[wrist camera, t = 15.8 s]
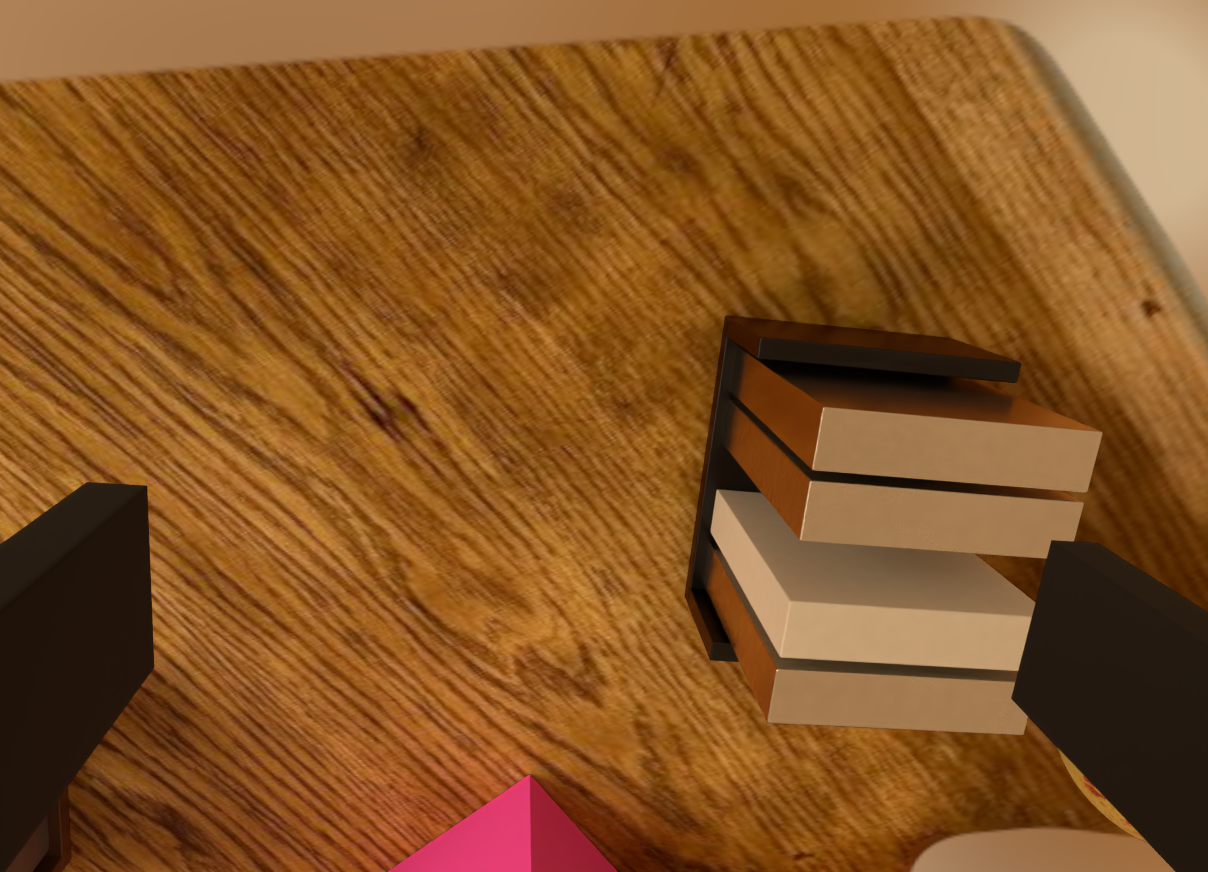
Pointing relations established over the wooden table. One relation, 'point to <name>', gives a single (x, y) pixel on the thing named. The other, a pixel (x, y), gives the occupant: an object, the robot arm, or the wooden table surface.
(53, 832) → the walnut book rack
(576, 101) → the wooden table surface
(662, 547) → the wooden table surface
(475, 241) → the wooden table surface
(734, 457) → the black book rack
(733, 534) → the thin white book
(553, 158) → the wooden table surface
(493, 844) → the bracket
